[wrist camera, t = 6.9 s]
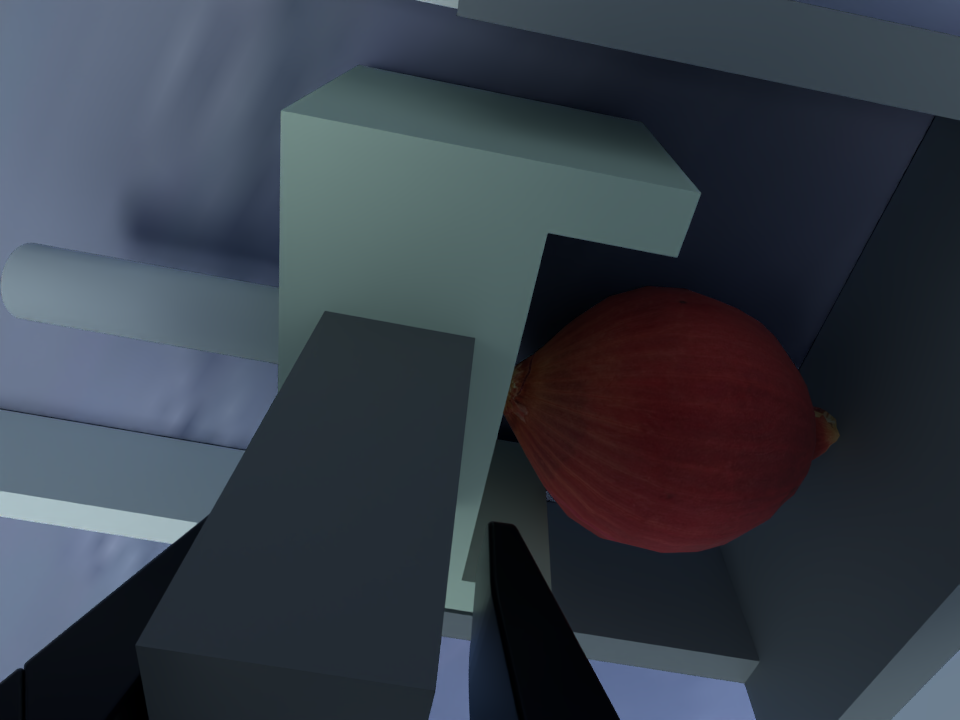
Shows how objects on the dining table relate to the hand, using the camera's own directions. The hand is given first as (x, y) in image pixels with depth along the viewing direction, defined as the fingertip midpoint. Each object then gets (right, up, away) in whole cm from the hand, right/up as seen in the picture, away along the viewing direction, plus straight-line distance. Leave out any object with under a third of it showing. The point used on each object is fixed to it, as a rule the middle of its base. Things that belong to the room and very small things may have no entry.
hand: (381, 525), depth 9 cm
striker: (-2, +5, +7) cm, 8 cm away
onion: (+2, +2, +4) cm, 5 cm away
